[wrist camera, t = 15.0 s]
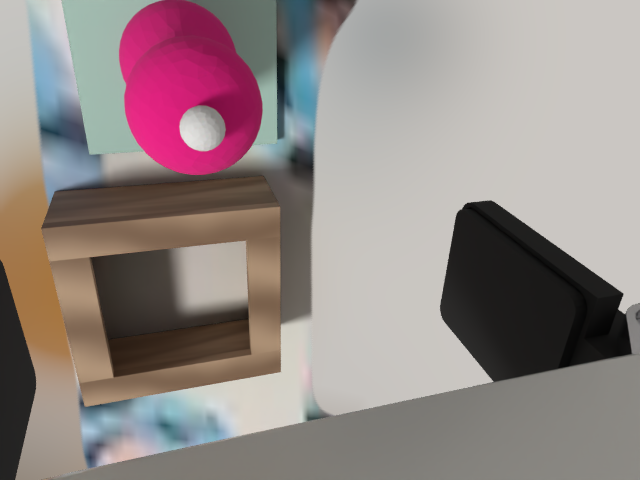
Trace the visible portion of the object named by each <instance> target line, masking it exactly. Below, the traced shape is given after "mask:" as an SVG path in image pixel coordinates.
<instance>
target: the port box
mask: <svg viewBox="0 0 640 480" xmlns="http://www.w3.org/2000/svg"><path fill="white" fill-rule="evenodd" d="M41 229H42V234H43V238H44V242H45V245H46V250H47V253H48V258H49V262H50V266H51V270H52V274H53V278H54V282H55V287H56V291H57V295H58V299H59V303H60V307H61V311H62V315H63V319H64V323H65V327H66V331H67V335H68V340H69V344H70V348H71V352H72V356H73V360H74V364H75V368H76V372H77V376H78V380H79V384H80V388H81V393H82V397H83V401H84V405H85V407H87V406H92V405H98V404H103V403H109V402H115V401H120V400H126V399H132V398H137V397H143V396H148V395H154V394H160V393H165V392H171V391H176V390H182V389H188V388H193V387H199V386H205V385H210V384H216V383H221V382H227V381H233V380H238V379H244V378H250V377H255V376H261V375H266V374H272V373H278V372H281V317H280V205H279V204H278V202H277V200H276V198H275V196H274V194H273V192H272V191H271V189H270V187H269V185H268V183H267V181H266V179H265V178H264V176H256V177H243V178H229V179H216V180H203V181H189V182H176V183H163V184H149V185H136V186H123V187H110V188H96V189H83V190H70V191H56V192H54V195H53V198H52V201H51V203H50V206H49V209H48V212H47V215H46V217H45V220H44V223H43V225H42V228H41ZM245 240H246V255H247V281H248V308H249V319H245V320H238V321H231V322H225V323H218V324H211V325H204V326H197V327H191V328H184V329H177V330H170V331H164V332H157V333H150V334H143V335H137V336H130V337H123V338H116V339H110V340H108V339H107V334H106V329H105V324H104V319H103V314H102V309H101V304H100V299H99V294H98V289H97V284H96V279H95V274H94V269H93V264H92V259H91V257H96V256H105V255H114V254H124V253H133V252H142V251H152V250H161V249H170V248H180V247H189V246H198V245H207V244H217V243H226V242H235V241H245Z"/></svg>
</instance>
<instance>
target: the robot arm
mask: <svg viewBox="0 0 640 480" xmlns="http://www.w3.org/2000/svg"><path fill="white" fill-rule="evenodd" d="M622 297H623V293H622V292H620V291H619V290H617V289H616V288H615V287H613V286H612V285H610V284H609V283H608V282H606V281H605V280H603V279H602V278H601V277H599V276H598V275H596V274H595V273H594V272H592V271H591V270H589V269H588V268H586V267H585V266H584V265H582V264H581V263H579V262H578V261H577V260H575V259H574V258H572V257H571V256H569V255H568V254H567V253H565V252H564V251H562V250H561V249H560V248H558V247H557V246H556V245H554V244H553V243H551V242H550V241H548V240H547V239H546V238H544V237H543V236H541V235H540V234H539V233H537V232H536V231H534V230H533V229H532V228H530V227H529V226H527V225H526V224H525V223H523V222H522V221H520V220H519V219H517V218H516V217H515V216H513V215H512V214H510V213H509V212H508V211H506V210H505V209H503V208H502V207H501V206H499V205H498V204H496V203H495V202H493V201H481V202H471V203H467V204H465V205H464V207H463V208H462V210H460V211H458V213H457V215H456V220H455V225H454V231H453V237H452V242H451V248H450V253H449V259H448V265H447V270H446V276H445V282H444V287H443V294H442V299H441V305H440V311H441V316H442V318H443V320H444V322H445V323H446V324H447V325H448V327H449V328H450V329H451V330H452V332H453V333H454V334H455V335H456V336H457V338H458V339H459V340H460V341H461V343H462V344H463V345H464V346H465V347H466V348H467V350H468V351H469V352H470V353H471V355H472V356H473V357H474V358H475V359H476V361H477V362H478V363H479V364H480V366H481V367H482V368H483V369H484V370H485V372H486V373H487V374H488V375H489V377H490V378H491V379H492V380H493V381H494V382H492V383H487V384H482V385H478V386H473V387H468V388H463V389H459V390H454V391H449V392H445V393H440V394H435V395H431V396H426V397H421V398H416V399H412V400H407V401H402V402H398V403H393V404H388V405H383V406H379V407H374V408H369V409H365V410H360V411H355V412H350V413H346V414H341V415H336V416H331V417H327V418H322V419H317V420H313V421H308V422H303V423H298V424H294V425H289V426H284V427H279V428H275V429H270V430H265V431H261V432H256V433H251V434H246V435H242V436H237V437H232V438H228V439H223V440H218V441H214V442H209V443H205V444H200V445H195V446H191V447H186V448H182V449H177V450H172V451H168V452H163V453H159V454H154V455H149V456H145V457H140V458H136V459H131V460H126V461H122V462H117V463H113V464H108V465H103V466H99V467H94V468H90V469H85V470H80V471H77V472H71V473H67V474H62V475H58V476H54V477H50V478H46V479H42V480H640V303H638V304H635V305H632V306H631V307H629V308H628V309H627V311H626V314H623V313H622V312H621V311H619V310H618V307H619V305H620V302H621V299H622ZM35 390H36V376H35V371H34V367H33V364H32V360H31V357H30V354H29V350H28V347H27V344H26V340H25V337H24V333H23V330H22V327H21V323H20V320H19V317H18V313H17V310H16V307H15V303H14V300H13V296H12V293H11V290H10V286H9V283H8V279H7V276H6V273H5V269H4V266H3V263H2V262H1V260H0V480H15V478H16V473H17V469H18V465H19V460H20V456H21V452H22V447H23V443H24V438H25V434H26V430H27V425H28V421H29V417H30V413H31V408H32V404H33V400H34V395H35Z"/></svg>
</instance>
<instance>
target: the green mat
mask: <svg viewBox="0 0 640 480" xmlns="http://www.w3.org/2000/svg"><path fill="white" fill-rule="evenodd" d="M158 1H161V0H62V6H63V11H64V17H65V22H66V28H67V33H68V39H69V44H70V50H71V55H72V61H73V66H74V72H75V77H76V83H77V88H78V94H79V99H80V105H81V110H82V116H83V121H84V126H85V132H86V137H87V143H88V148H89V154H90V155H91V154H108V153H125V152H142V151H144V150H143V149H142V148H141V147H140V146H139V144H138V143H137V141H136V140H135V138H134V136H133V134H132V132H131V130H130V128H129V125H128V122H127V118H126V115H125V106H124V94H125V89H126V83H125V81H124V79H123V75H122V72H121V68H120V62H119V46H120V40H121V37H122V34H123V31H124V29H125V28H126V26H127V24H128V22H129V21H130V20H131V19H132V17H133V16H134V15H135V14H136V13H137V12H139V11H140V10H141V9H143V8H144V7H146V6H148V5H149V4H152V3H155V2H158ZM185 1H189V2H192V3H196V4H198V5H200V6H202V7H204V8H206V9H207V10H208V11H210V12H211V13H213V14H214V15H215V16H216V17H217V18H218V19H219V20H220V21H221V22H222V24H223V25H224V26H225V27H226V29H227V31H228V33H229V34H230V36H231V38H232V41H233V43H234V46H235V49H236V53H237V54H238V55H239V56H240V57H241V58H242V59H243V60H244V62H245V63H246V64H247V65H248V66H249V68H250V69H251V71H252V73H253V75H254V76H255V78H256V80H257V83H258V86H259V89H260V93H261V98H262V103H263V113H262V120H261V126H260V130H259V132H258V135H257V137H256V140H255V141H254V143H253V144H252V145H261V144H277V19H276V0H185Z"/></svg>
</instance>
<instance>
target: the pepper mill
mask: <svg viewBox="0 0 640 480" xmlns="http://www.w3.org/2000/svg"><path fill="white" fill-rule="evenodd" d="M119 62H120V68H121V72H122V75H123V79H124V81H125V83H126V89H125V94H124V106H125V115H126V118H127V122H128V125H129V128H130V130H131V132H132V134H133V136H134V138H135V140H136V141H137V143H138V144H139V146H140V147H141V148H142V149H143V150H144V151H145V152H146V153H147V154H148V155H149V156H150V157H151V158H152V159H154V160H155V161H156V162H158V163H159V164H161V165H163V166H164V167H166V168H169V169H171V170H173V171H176V172H179V173H184V174H191V175H205V174H210V173H215V172H219V171H221V170H224V169H226V168H228V167H230V166H232V165H233V164H235V163H236V162H237V161H238V160H240V159H241V158H242V157H243V156H244V155H245V154H246V152H247V151H248V150H249V149H250V147H251V146H252V144H253V143H254V141H255V140H256V137H257V135H258V132H259V130H260V126H261V120H262V113H263V103H262V98H261V93H260V89H259V86H258V83H257V80H256V78H255V76H254V75H253V73H252V71H251V69H250V68H249V66H248V65H247V64H246V63H245V62H244V60H243V59H242V58H241V57H240V56H239V55H238V54H237V53H236V49H235V46H234V43H233V41H232V38H231V36H230V34H229V33H228V31H227V29H226V27H225V26H224V25H223V24H222V22H221V21H220V20H219V19H218V18H217V17H216V16H215V15H214V14H213V13H211V12H210V11H208V10H207V9H206V8H204V7H202V6H200V5H198V4H196V3H192V2H189V1H185V0H161V1H158V2H155V3H152V4H149V5H148V6H146V7H144V8H143V9H141V10H140V11H139V12H137V13H136V14H135V15H134V16H133V17H132V19H131V20H130V21H129V22H128V24H127V26H126V28H125V29H124V31H123V34H122V37H121V40H120V46H119Z"/></svg>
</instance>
